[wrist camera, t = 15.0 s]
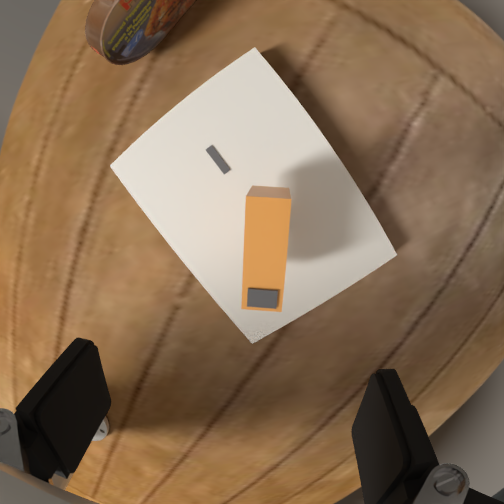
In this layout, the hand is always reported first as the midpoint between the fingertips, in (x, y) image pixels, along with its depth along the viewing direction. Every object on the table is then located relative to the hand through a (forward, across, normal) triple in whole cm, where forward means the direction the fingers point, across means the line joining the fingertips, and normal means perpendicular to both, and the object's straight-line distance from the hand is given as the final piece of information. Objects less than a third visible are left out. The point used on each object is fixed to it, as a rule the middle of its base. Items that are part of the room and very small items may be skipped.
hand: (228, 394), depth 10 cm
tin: (+19, +8, -21) cm, 29 cm away
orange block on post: (+15, -1, -1) cm, 15 cm away
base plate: (+19, 0, -3) cm, 19 cm away
